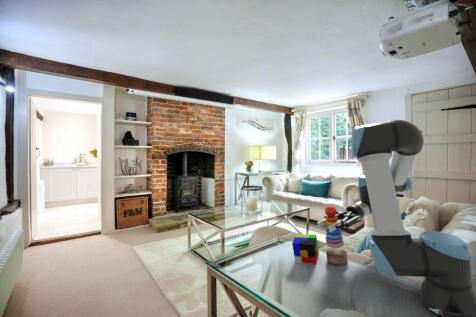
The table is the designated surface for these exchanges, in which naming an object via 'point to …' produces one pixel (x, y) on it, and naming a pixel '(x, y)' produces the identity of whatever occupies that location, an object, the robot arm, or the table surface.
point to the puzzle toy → (305, 248)
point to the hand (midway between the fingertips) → (323, 227)
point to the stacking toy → (335, 236)
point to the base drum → (337, 256)
